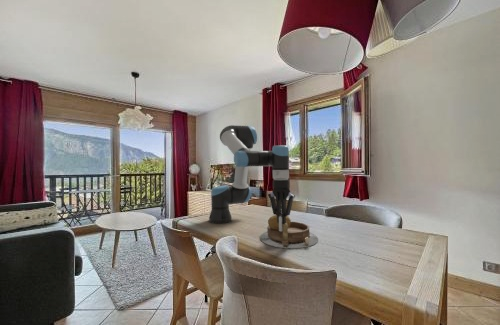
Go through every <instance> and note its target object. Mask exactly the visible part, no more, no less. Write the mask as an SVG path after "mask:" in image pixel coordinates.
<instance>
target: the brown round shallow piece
mask: <svg viewBox="0 0 500 325" xmlns="http://www.w3.org/2000/svg"><path fill="white" fill-rule="evenodd" d="M266 228H267V229H266V230H267V231H266V232H268V237H269V238H271V239H273V240H276V241H281V242H282V245H287V246H288V243H289V242H301V241H305V237H308V238H309V237H310V233H311V232H310V225H308V224H306V223H304V222H298V221H291V225H290V227H289V228H288V225H287V223H285V224H283V232H280V231H276V230H272V229H271V228H270V226H269V224H268V225H267V227H266Z"/></svg>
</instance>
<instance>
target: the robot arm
mask: <svg viewBox="0 0 500 325" xmlns="http://www.w3.org/2000/svg"><path fill="white" fill-rule="evenodd" d="M219 133H220V134H219V139H220V140H219V141H220V142H221V143H222V145H224V146H226V147H227V148H228V150H230V153H231V154H232V155H233V163H234V165H235V169H234V170H235V172H234V181H233V182H232V183H231V186H229V185H228V184H225V185H218V186H214V187H212V188H211V191H210V192H211V193H210V197H211V200H210V202H211V204H210V205H211V211H210V214H209V217H208V222H209V223H211V224H226V223H229V222H232V219H233V218H232V214H231V211H230V205H238V204H246V203H248V202H249V201H250V199H251V197H252V196H251V195H252V192H251V191H252V190H251V187H250V186H249V183H248V173H249V167H250V168H251V167H272V179H273V180H272V191H271V192H270V193H268V194H267V197H268V198H269V201H270V204H271V209H272V214H273V216H274V215H277V223H279V231H281V232H282V231H283V224H285V223H286V216H288V217H289V216H290V214H291V210H292V206H293V201H294V199H295V197H296V195H294V194H292V193H291V190H290V151H289V146H288V145H283V144H282V145H272V148H271V149H272V150H252V149H253V148H254V145H256V144H257V142H258V134H257V133H258V132H257V130H256V128H255V127H254V126H249V125H233V124H232V125H227V126H225V127H224V128H223V129H222V130H221V131H220V132H219ZM287 198H288V199H287ZM281 215H282V216H281Z"/></svg>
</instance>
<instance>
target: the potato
mask: <svg viewBox="0 0 500 325" xmlns="http://www.w3.org/2000/svg"><path fill="white" fill-rule="evenodd" d="M281 216H282V215H281ZM291 222H292V220H291V218H290V217H289V215H288V216H286V223H287V225H288V228H289V227H290V225H291ZM267 224H268V225H269V226H270V228H271V229H272V230H276V231H279V223H277V215H274V214H273V215H272V216H270V217H269V219H268V221H267ZM280 232H281V231H280ZM282 232H283V231H282Z"/></svg>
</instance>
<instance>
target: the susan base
mask: <svg viewBox="0 0 500 325" xmlns="http://www.w3.org/2000/svg"><path fill="white" fill-rule="evenodd" d="M259 240H260V241H261V242H262V243H263V244H265V245H268V246H271V247H275V248H278V249H279V248H280V249H292V250H293V249H295V250H296V249H304V248H308V247H312V246H314V245H316V244H317V243H318V242H319V237H318V236H317V235H316V234H314V233H311V232H310V237H309V238H308V237H305V241H301V242H289V243H288V246H287V245H282V242H281V241H276V240H273V239H271V238H269V237H268V232H267V231H265V232H263V233H261V234H260V237H259Z"/></svg>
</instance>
